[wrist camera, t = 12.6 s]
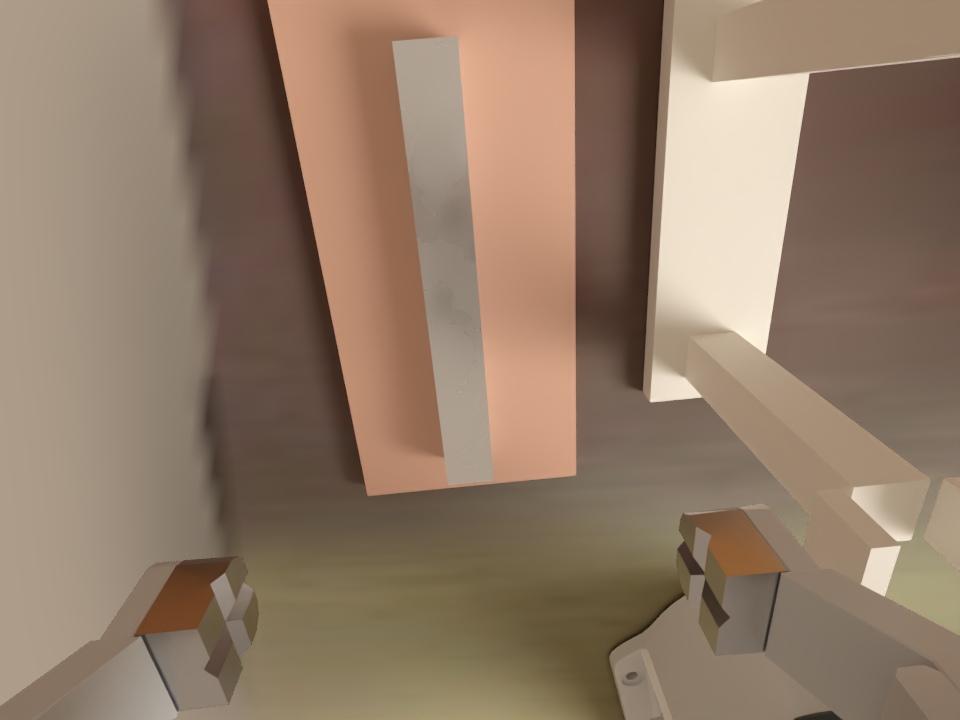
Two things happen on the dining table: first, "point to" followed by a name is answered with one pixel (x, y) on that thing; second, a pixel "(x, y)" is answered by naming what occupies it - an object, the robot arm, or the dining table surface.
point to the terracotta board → (392, 234)
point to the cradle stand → (773, 256)
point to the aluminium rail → (446, 247)
